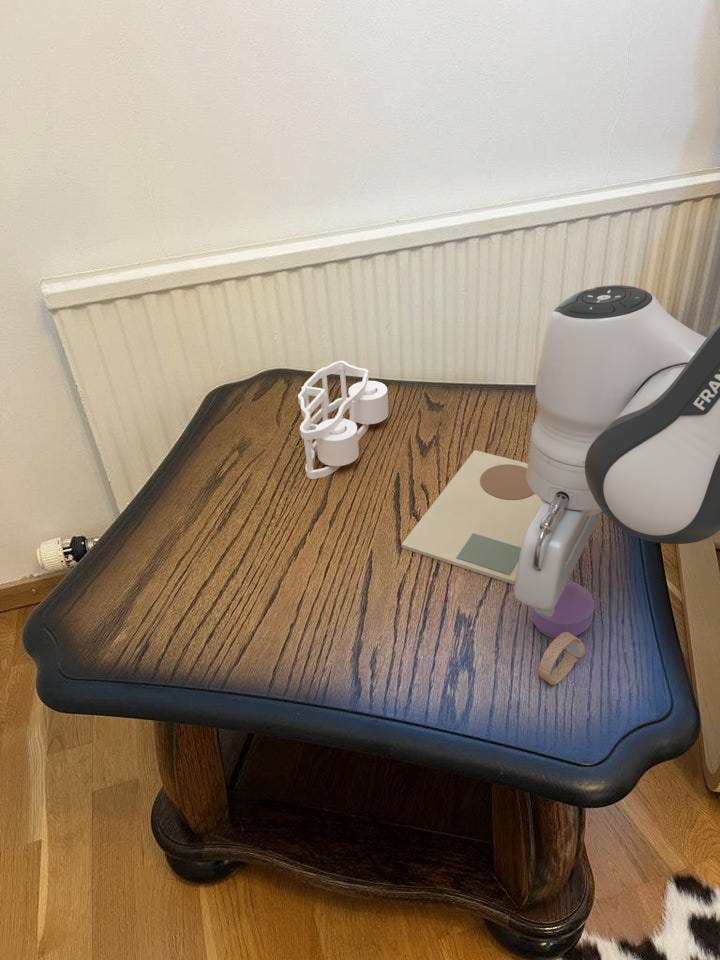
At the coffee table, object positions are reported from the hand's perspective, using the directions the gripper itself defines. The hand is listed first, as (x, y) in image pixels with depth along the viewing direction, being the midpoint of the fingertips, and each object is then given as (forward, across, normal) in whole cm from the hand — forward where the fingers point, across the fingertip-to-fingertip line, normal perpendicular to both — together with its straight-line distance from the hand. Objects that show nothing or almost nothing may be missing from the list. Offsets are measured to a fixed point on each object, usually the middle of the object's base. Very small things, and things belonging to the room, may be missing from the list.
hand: (561, 579), depth 76 cm
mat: (+6, +14, +12) cm, 20 cm away
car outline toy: (+7, +20, +38) cm, 44 cm away
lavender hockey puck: (+6, 0, 0) cm, 6 cm away
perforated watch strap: (+6, -7, -2) cm, 10 cm away
